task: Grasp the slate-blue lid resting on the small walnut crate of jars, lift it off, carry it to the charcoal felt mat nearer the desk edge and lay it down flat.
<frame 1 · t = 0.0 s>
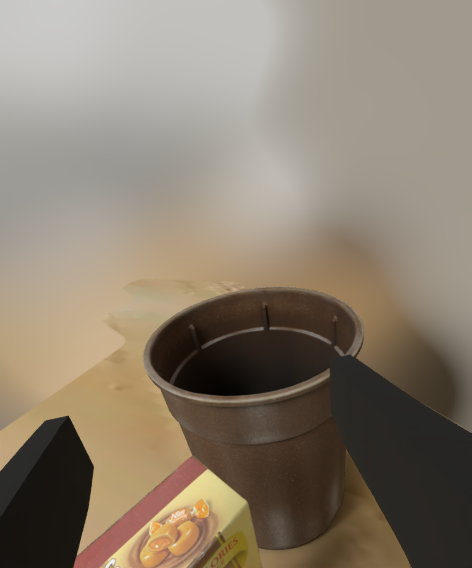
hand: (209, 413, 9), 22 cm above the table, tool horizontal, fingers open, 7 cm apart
plant pot: (274, 480, 31), on the table
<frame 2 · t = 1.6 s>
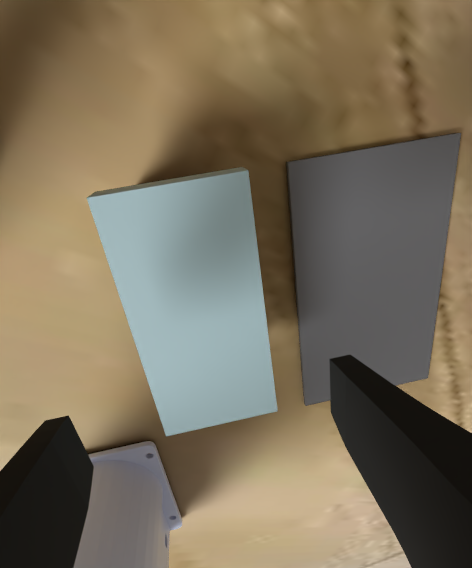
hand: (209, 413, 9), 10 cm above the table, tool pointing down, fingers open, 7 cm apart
lid: (199, 310, 15), point 4 cm above the table, touching crate
mat: (368, 288, 20), on the table
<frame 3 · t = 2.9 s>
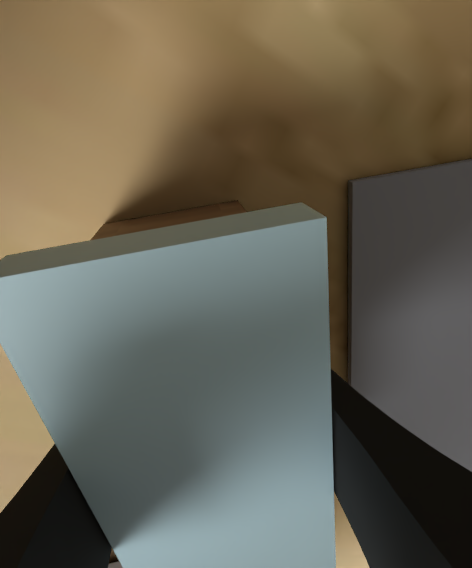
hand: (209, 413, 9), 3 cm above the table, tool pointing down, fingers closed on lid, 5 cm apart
lid: (212, 440, 9), point 4 cm above the table, touching crate, gripper
crate: (202, 348, 12), on the table
mat: (449, 356, 14), on the table
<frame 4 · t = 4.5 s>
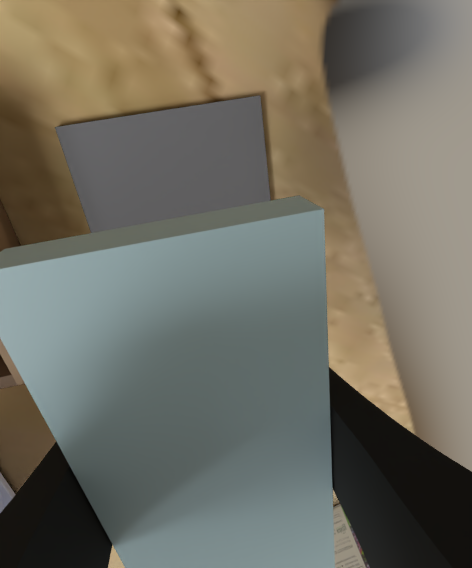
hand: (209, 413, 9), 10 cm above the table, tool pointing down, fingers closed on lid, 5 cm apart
lid: (210, 434, 9), point 11 cm above the table, touching gripper
syrup box: (327, 524, 31), on the table
mat: (195, 273, 18), on the table
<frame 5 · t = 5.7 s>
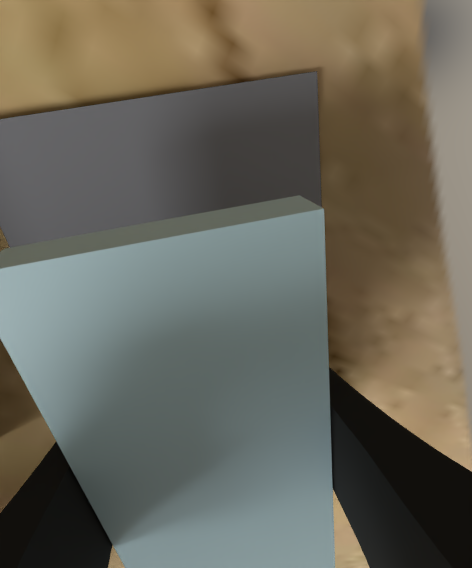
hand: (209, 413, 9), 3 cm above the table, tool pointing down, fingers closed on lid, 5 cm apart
lid: (210, 434, 9), point 4 cm above the table, touching gripper
mat: (202, 350, 12), on the table
when the fingers open (1 cm above the table, at t = 6.6 s): lid drops 2 cm, resting on mat.
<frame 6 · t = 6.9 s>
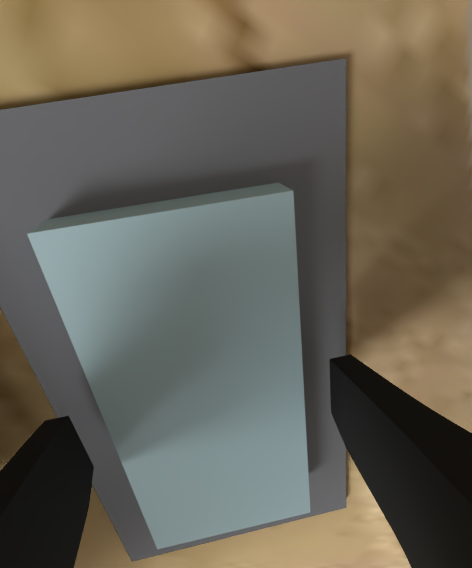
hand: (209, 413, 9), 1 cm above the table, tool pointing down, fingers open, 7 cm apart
lid: (206, 383, 10), resting on mat
mat: (205, 379, 11), on the table
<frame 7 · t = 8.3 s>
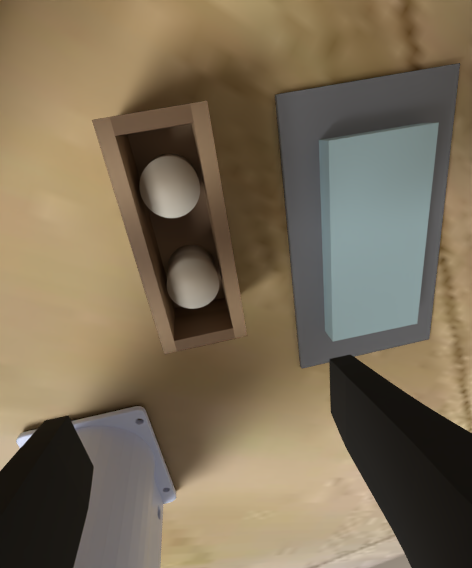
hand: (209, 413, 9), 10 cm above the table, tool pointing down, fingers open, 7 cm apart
lid: (368, 238, 19), resting on mat
crate: (182, 222, 17), on the table
mat: (365, 239, 19), on the table
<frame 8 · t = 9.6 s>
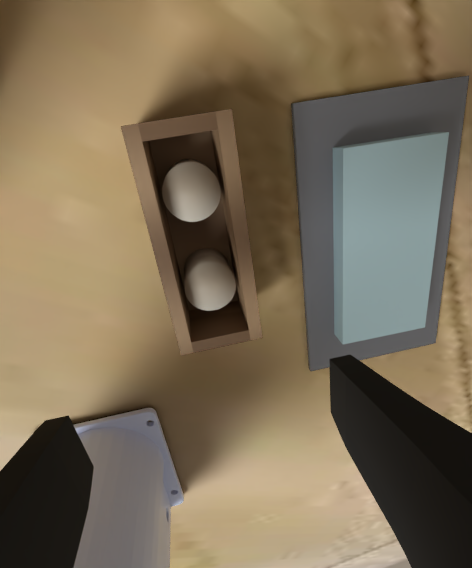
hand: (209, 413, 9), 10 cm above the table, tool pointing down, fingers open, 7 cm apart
lid: (378, 244, 19), resting on mat
crate: (197, 226, 18), on the table
mat: (375, 244, 20), on the table
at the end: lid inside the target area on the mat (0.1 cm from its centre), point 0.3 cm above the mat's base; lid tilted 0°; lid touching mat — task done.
